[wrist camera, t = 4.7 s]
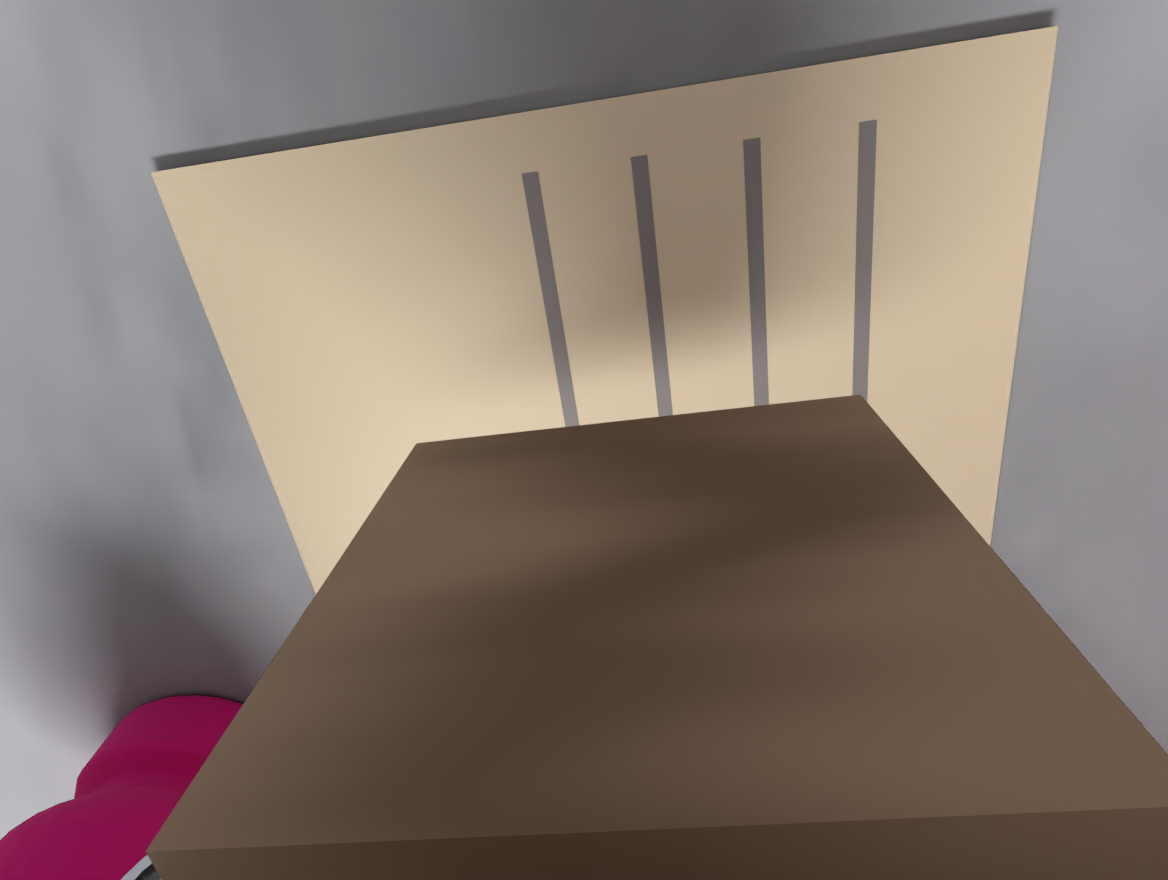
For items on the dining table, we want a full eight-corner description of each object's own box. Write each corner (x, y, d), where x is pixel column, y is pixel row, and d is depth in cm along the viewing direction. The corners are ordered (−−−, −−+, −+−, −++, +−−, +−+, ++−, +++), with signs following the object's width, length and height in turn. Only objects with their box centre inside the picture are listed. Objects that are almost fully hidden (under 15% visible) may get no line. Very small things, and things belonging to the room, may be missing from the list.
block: (860, 393, 9) (1210, 803, 4) (854, 734, 11) (1059, 1287, 6) (416, 442, 10) (145, 851, 4) (498, 754, 12) (393, 1269, 7)
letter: (1051, 26, 12) (1058, 26, 11) (979, 598, 17) (983, 603, 17) (156, 171, 13) (150, 172, 13) (343, 653, 18) (340, 659, 18)
